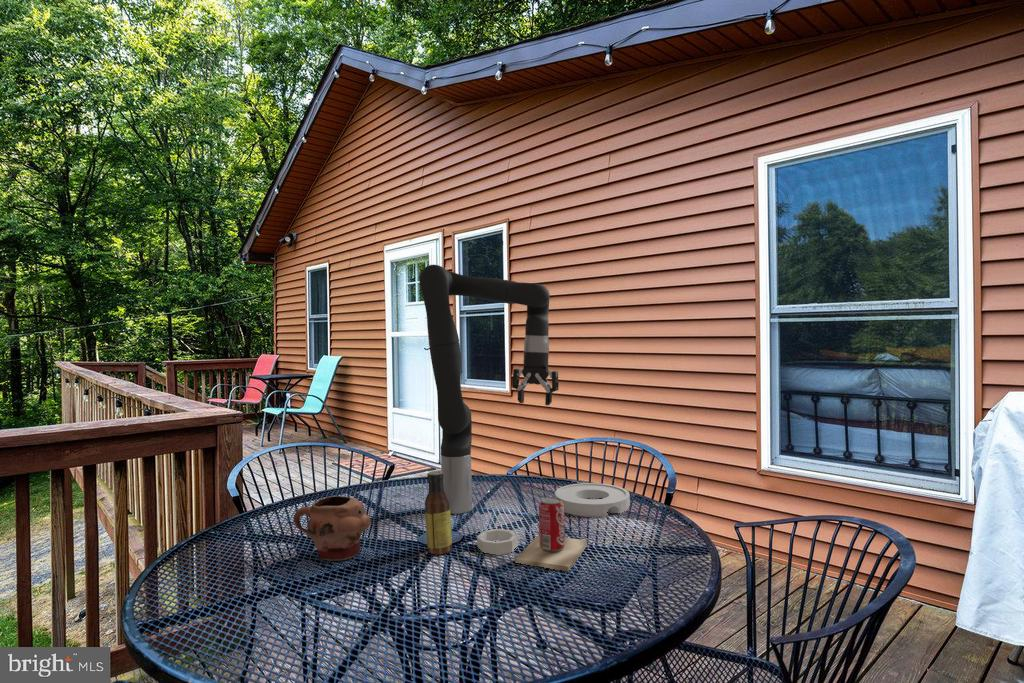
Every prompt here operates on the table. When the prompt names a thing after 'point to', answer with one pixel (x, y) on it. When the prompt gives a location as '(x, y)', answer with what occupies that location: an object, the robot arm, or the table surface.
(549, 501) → the beverage can
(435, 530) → the sauce bottle
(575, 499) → the ashtray
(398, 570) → the table surface
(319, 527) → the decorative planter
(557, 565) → the birch board
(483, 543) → the can holder
